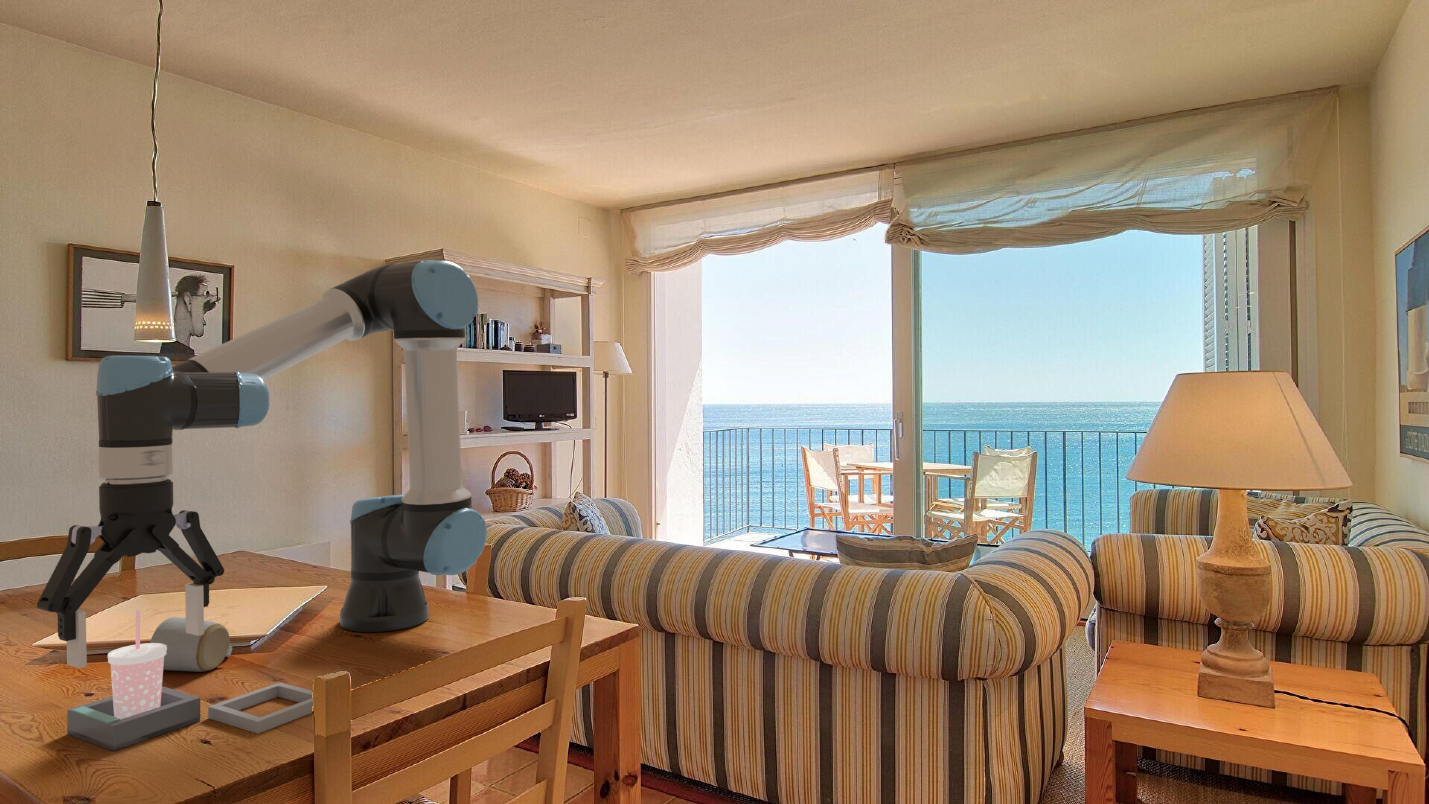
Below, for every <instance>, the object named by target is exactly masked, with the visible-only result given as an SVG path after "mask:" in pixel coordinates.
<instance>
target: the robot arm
mask: <svg viewBox="0 0 1429 804" xmlns="http://www.w3.org/2000/svg"><path fill="white" fill-rule="evenodd" d="M478 309H479V296H478V292H477V289H476V285H475V284H474V282H473V279H472V278H471V277H470V275H468V274H467V273H466V271H465V269H463V268H462V267H461V266H459V265H458V264H456V263H454V262H452V261H448V260H437V259H435V260H434V259H430V260H429V259H428V260H427V259H424V260H421V261H420V260H419V261H418V260H417V261H410V262H405V263H404V262H403V263H391V264H385V265H380V266H378V267H377V266H376V267H374V268H371V269H370V270H366V271H365V272H363V273H361V274H359V275H356V276H355V277H353V278H350V279H349V280H346V281H344V282H342V283H340V284H338V285H336V286H334V287H331V288H329V289H327V290H326V291H324V292H323V294H322V296H321V299H319V300H317V301H315V302H313V303H311V304H309V305H306V306H304V307H302V308H299V309H298V310H295V311H293V312H290V313H289V314H286V315H284V316H282V317H280V318H279V317H278V318H277V319H275V320H273V321H271V322H269V323H266V324H264V325H261V326H260V327H257V328H255V329H252V330H251V331H249V332H246V333H244V334H241V335H240V336H237V337H235V338H233V339H231V340H228V341H226V342H223V343H221V344H220V345H217V346H214V347H212V348H210V349H209V350H206V351H204V352H202V353H199V354H196V355H195V356H193V357H190V358H188V359H187V360H184V361H183V362H179V363H176V364H175V365H174V364H173V365H172V360H171V359H170V358H169V357H167V356H155V355H109V356H105V357H104V358H103V357H102V359H101V360H100V361H99V364H98V369H97V376H96V377H97V378H96V381H97V382H96V390H95V393H96V394H95V395H96V398H97V399H96V400H97V420H98V421H97V422H98V423H97V424H98V425H97V426H98V478H100V479H101V480H104V482H103V483H101V484H100V485H98V497H99V499H98V502H99V503H98V505H99V507H98V508H99V514H100V521H99V522H98V524H97V525H93V526H84V525H77V524H75V525H72V526H70V527H69V529H68V536H67V544H66V546H65V548H64V550H63V552H62V554H61V557H60V558H59V560H58V562H57V564H56V565H55V568H54V570H53V572H52V573H51V574H50V575H51V576H50V577H49V579H48V582H47V583H46V585H45V587H44V589H43V591H42V593H41V595H40V597H39V599H38V601H37V603H36V607H37V609H38V610H41V611H45V612H46V611H47V612H50V613H56V615H57V637H58V639H59V640H60V641H64V642H66V665H67V666H70V667H73V668H76V669H83V668H86V667H88V665H87V664H88V663H87V662H88V659H87V657H88V656H87V655H88V654H87V611H85V610H80V607H82V605H83V603H84V602H85V601H86V600H87V598H89V596H90V595H91V594H92V593H93V591H94V590H95V588H96V587H97V586H98V585H99V583H101V581H102V580H103V578H104V577H105V575H106V574H107V573H108V572H109V571H110V570H111V568H112V567H113V566H114V565H115V564H117V563H118V562H119V561H120V560H121V559H122V558H123V557H126V558H127V557H128V558H129V557H130V558H131V557H137V556H139V555H141V554H153V553H156V552H157V551H158V552H159V553H161V554H162V555H163V556H165V558H166V559H168V560H169V561H170V562H171V563H172V564H173V565H175V567H176V568H177V569H179V570H180V571H181V572H182V573H184V575H185V576H186V577H188V578H189V580H191V581H192V582H188V583H185V586H184V587H185V588H184V589H185V590H184V591H185V592H184V593H185V595H184V596H185V599H184V600H185V601H184V602H185V603H184V604H185V618H186V633H189V634H193V635H197V636H199V635H203V634H204V621H205V617H204V616H205V612H204V611H205V610H204V608H207V607H209V604H210V585H212V584H213V583H215V579H216V578H217V577H221V576H223V575H224V574H225V568H224V567H223V564H222V563H221V561H220V559H219V558H218V556H217V554H216V552H215V550H214V549H213V547H212V545H211V543H210V542H209V540H208V538H207V537H206V535H205V533H204V531H203V529H202V527H201V522H200V515H199V512H198V511H193V510H185V509H183V510H181V511H179V513H177V514H173V507H174V481H172V480H171V478H168V477H169V476H171V475H172V474H173V469H174V468H173V433H174V431H181V430H182V431H183V430H193V429H195V430H197V429H203V430H204V429H226V428H227V429H228V428H235V429H239V428H243V427H252V426H256V425H259V424H260V423H262V422H263V421H264V420H265V418H266V416H267V415H268V413H269V410H270V409H269V408H270V392H269V388H268V386H267V383H266V382H265V380H267V379H270V378H271V377H274V376H276V375H277V374H279V373H282V372H283V371H285V370H287V369H289V368H291V367H293V366H296V365H297V364H299V363H301V362H303V361H306V360H307V359H309V358H311V357H314V356H315V355H317V354H319V353H321V352H323V351H325V350H327V349H329V348H332V346H335V345H337V344H339V343H341V342H343V341H349V342H350V341H351V342H355V341H356V342H357V341H358V340H360V339H363V338H365V337H366V336H369V335H370V336H371V335H372V334H376V333H384V332H390V331H391V332H392V331H393V341H394V342H395V343H396V344H397V345H399V347H401V348H402V350H403V353H404V355H403V356H404V358H403V359H404V377H405V378H404V379H405V398H406V399H405V400H406V421H407V423H406V424H407V441H408V442H407V443H408V445H407V446H408V447H407V448H408V466H409V468H408V470H409V489H408V491H406V492H405V493H403V494H392V495H384V496H376V497H375V496H374V497H368V498H367V497H366V498H361V499H358V500H356V501H355V502H354V503H353V505H352V508H351V515H350V516H351V517H350V520H349V523H350V584H349V586H348V588H347V591H346V595H345V599H344V601H343V606H342V607H341V609H340V613H339V626H340V627H341V628H342V629H345V630H348V631H353V632H358V633H359V632H360V633H361V632H362V633H379V632H391V631H396V630H397V631H398V630H403V629H407V628H412V627H415V626H417V625H420V624H423V623H424V622H426V621H427V620H428V619H429V616H430V615H429V612H430V611H429V607H430V606H429V602H428V601H427V600H426V595H425V592H424V588H423V585H422V582H421V579H420V572H423V573H427V574H428V573H429V574H431V575H433V576H442V575H443V576H444V575H445V576H456V575H460V574H463V573H464V572H466V571H467V570H469V569H470V568H472V566H473V565H475V563H477V560H478V558H479V557H481V555H482V554H483V551H484V548H485V546H486V542H487V539H488V538H487V537H488V529H487V527H488V526H487V524H486V521H485V518H484V517H483V516H482V514H481V513H480V512H478V511H477V510H475V509H474V508H472V507H473V506H472V493H471V492H470V491H469V490H468V489H466V488H465V486H464V485H463V482H462V481H463V480H462V479H463V477H462V476H463V475H462V453H461V452H462V451H461V427H460V425H461V423H460V402H459V380H458V379H459V376H458V375H459V374H458V354H457V352H458V351H457V350H458V348H459V347H460V346H461V345H462V344H463V343H464V342H465V340H466V327H468V326H469V325H470V324H471V323H472V322H473V321H474V317H477V313H478ZM175 526H176V528H178V529H179V530H180V531H181V533H182V535H183V537H184V538H185V540H186V542H187V544H188V546H189V547H190V549H191V551H192V552H193V554H194V556H195V558H196V559H197V561H198V563H199V564H198V563H197V561H195V560H194V559H193V558H192V557H191V556H190V555H189V554H188V553H186V551H185V550H183V548H181V547H180V544H179V543H178V542H177V541H176V540H175V539H174V538H173V537H171V535H170V534H171V532H172V531H173V529H174V527H175ZM97 537H98V538H100V540H102V544H100V546H99V547H98V549H97V550H96V551H95V553H94V554H93V558H92V559H91V560H90V561H89V563H88V564H86V565H87V566H85V568H84V569H83V570H82V572H80V574H79V575H78V576H77V574H78V572H79V570H80V569H81V566H82V564H83V562H84V560H85V558H86V556H87V554H88V552H89V549H90V548H91V547H90V546H91V545H92V544H93V543H95V542H96V539H97ZM76 577H77V578H76ZM75 578H76V579H75Z"/></svg>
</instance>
